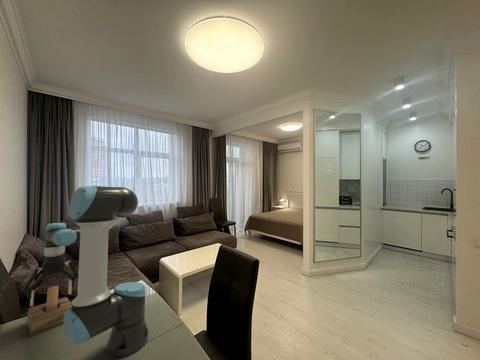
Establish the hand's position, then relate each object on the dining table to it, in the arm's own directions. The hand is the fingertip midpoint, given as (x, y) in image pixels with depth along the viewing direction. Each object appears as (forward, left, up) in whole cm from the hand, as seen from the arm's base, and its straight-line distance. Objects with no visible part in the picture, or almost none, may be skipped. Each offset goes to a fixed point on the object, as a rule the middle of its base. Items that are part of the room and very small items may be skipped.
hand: (51, 299), depth 96 cm
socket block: (0, 0, -11) cm, 11 cm away
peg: (0, 0, -10) cm, 10 cm away
